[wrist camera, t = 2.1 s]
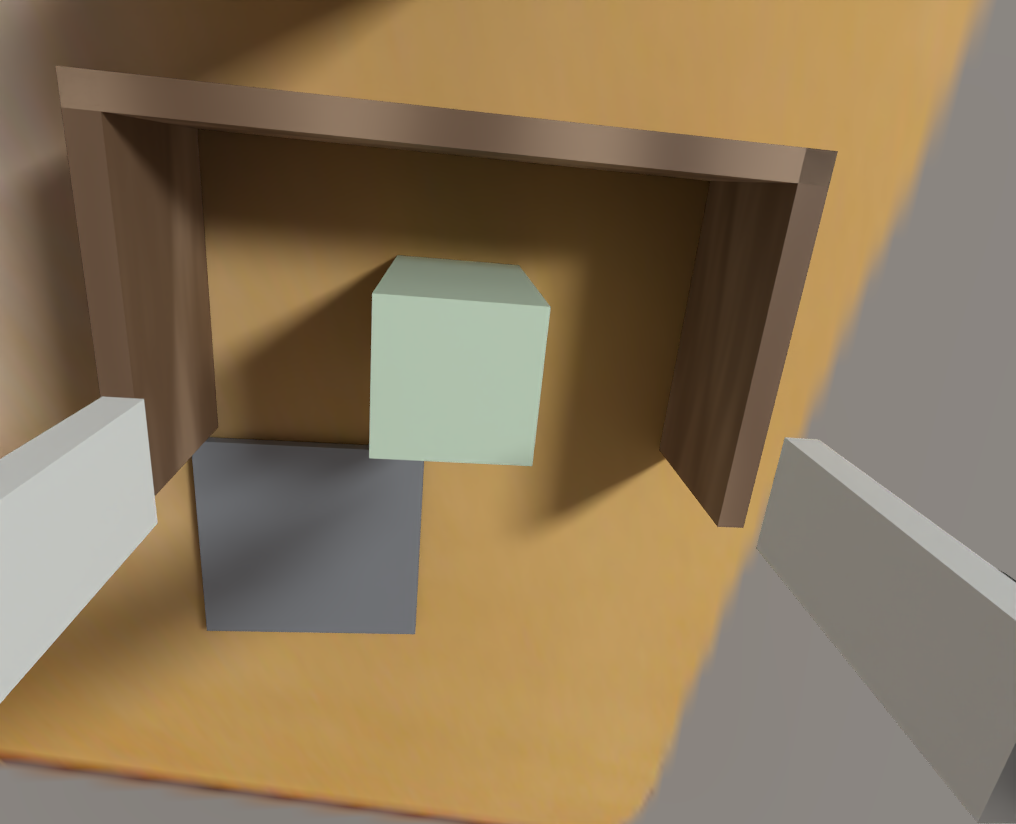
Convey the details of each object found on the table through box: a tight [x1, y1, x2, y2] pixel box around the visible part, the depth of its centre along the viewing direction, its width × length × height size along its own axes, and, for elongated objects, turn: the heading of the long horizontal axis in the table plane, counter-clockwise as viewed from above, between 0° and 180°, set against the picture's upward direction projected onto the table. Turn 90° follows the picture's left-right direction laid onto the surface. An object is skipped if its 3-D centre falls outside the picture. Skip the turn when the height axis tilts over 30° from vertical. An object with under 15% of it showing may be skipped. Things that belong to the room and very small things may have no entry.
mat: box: [192, 437, 424, 634], centre depth 30 cm, size 10×10×1 cm
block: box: [369, 255, 551, 466], centre depth 23 cm, size 5×5×9 cm
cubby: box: [55, 65, 838, 528], centre depth 23 cm, size 22×13×7 cm, turn 85°
